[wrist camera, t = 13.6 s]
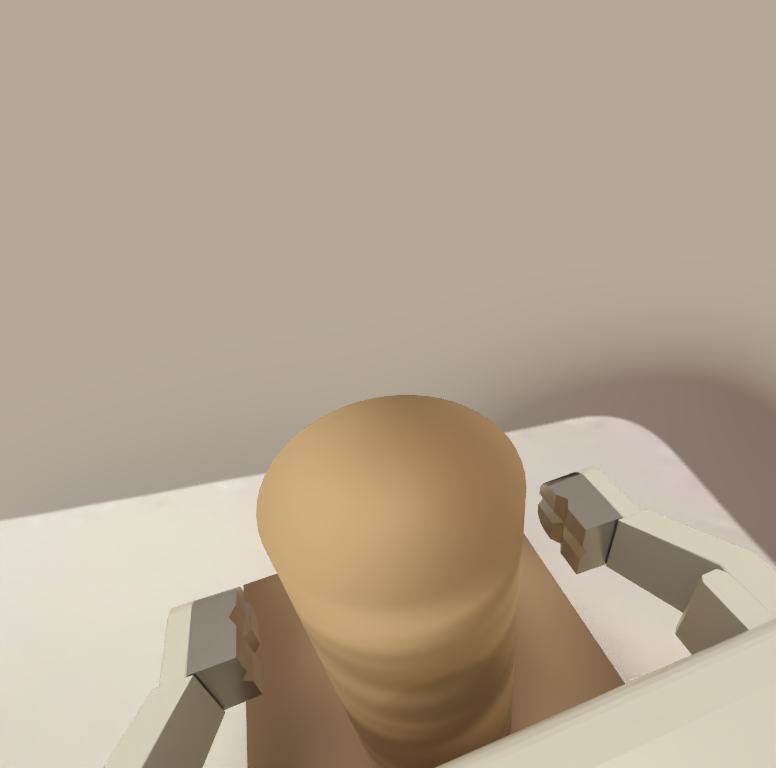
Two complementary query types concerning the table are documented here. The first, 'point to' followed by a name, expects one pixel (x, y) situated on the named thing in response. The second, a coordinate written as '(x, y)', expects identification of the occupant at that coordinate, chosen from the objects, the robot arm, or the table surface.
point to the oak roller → (404, 569)
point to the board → (328, 716)
